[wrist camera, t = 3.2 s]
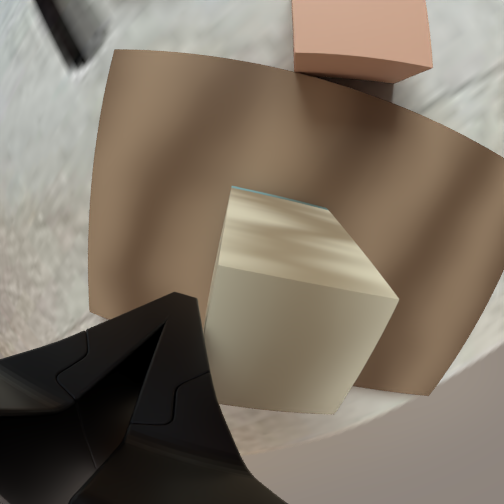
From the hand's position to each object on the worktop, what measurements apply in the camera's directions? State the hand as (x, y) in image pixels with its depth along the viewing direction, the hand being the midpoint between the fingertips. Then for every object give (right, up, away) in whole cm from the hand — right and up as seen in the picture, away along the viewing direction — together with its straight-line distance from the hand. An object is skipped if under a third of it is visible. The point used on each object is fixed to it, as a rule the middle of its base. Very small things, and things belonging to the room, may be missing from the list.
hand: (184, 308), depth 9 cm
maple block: (+3, +2, +6) cm, 7 cm away
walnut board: (+5, +2, +8) cm, 9 cm away
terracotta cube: (+6, +12, +4) cm, 14 cm away
